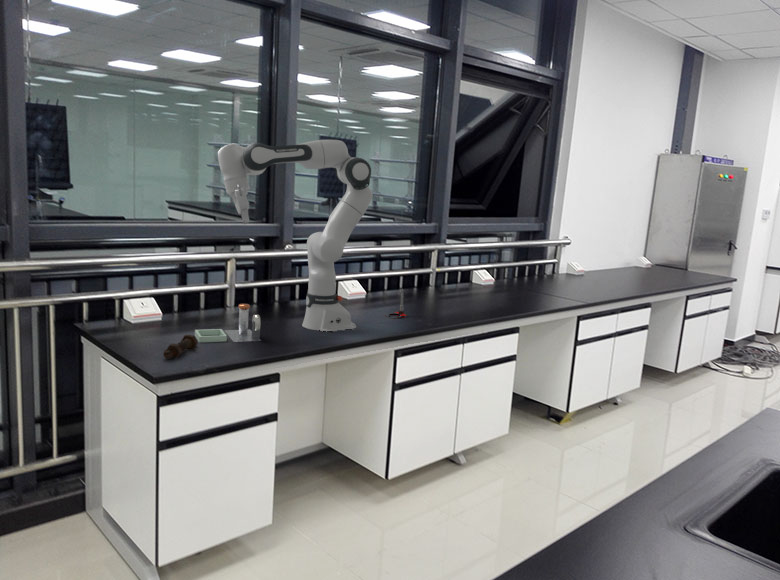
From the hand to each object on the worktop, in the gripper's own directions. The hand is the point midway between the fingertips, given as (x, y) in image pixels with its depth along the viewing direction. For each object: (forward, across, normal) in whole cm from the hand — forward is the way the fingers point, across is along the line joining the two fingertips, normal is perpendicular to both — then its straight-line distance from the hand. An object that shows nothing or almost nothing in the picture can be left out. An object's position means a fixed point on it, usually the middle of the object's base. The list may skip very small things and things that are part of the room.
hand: (246, 222), depth 237 cm
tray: (+39, -8, +24) cm, 47 cm away
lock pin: (+40, -1, +12) cm, 42 cm away
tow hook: (+55, +36, -56) cm, 87 cm away
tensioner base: (+42, -4, +13) cm, 44 cm away
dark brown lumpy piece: (+40, -24, +34) cm, 58 cm away
